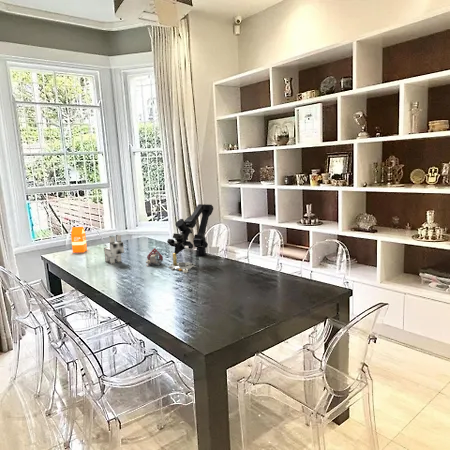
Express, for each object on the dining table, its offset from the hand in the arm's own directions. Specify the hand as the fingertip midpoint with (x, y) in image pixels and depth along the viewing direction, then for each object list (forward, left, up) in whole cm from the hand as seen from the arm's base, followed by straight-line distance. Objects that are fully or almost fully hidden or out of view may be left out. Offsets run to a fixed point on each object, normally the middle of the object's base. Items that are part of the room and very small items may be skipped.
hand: (175, 254), depth 260 cm
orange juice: (+21, -97, -8) cm, 100 cm away
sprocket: (-1, +6, -8) cm, 10 cm away
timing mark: (+5, +16, -8) cm, 19 cm away
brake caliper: (+7, -14, -8) cm, 18 cm away
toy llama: (+21, -43, -8) cm, 49 cm away
